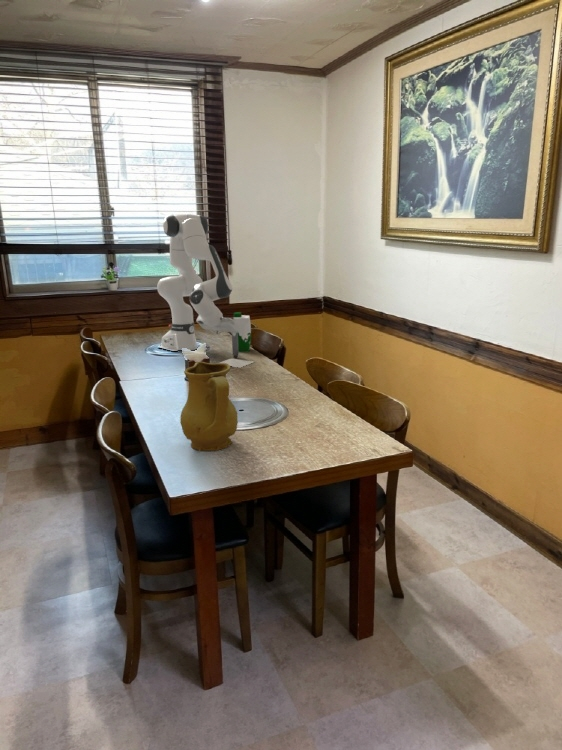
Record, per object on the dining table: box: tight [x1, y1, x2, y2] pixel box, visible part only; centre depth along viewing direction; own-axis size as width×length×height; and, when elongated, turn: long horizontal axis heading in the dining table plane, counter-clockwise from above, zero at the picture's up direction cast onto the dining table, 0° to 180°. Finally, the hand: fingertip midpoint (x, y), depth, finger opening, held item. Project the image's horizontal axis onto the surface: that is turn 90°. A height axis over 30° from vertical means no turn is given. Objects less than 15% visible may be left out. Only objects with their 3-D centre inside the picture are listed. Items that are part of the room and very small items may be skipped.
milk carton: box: [232, 311, 252, 352], centre depth 280 cm, size 9×9×20 cm
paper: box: [219, 358, 255, 369], centre depth 255 cm, size 14×12×1 cm
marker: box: [231, 331, 239, 359], centre depth 265 cm, size 3×3×14 cm
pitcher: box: [179, 361, 238, 452], centre depth 158 cm, size 17×19×25 cm
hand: (226, 334), depth 258 cm, fingers open, 8 cm apart
